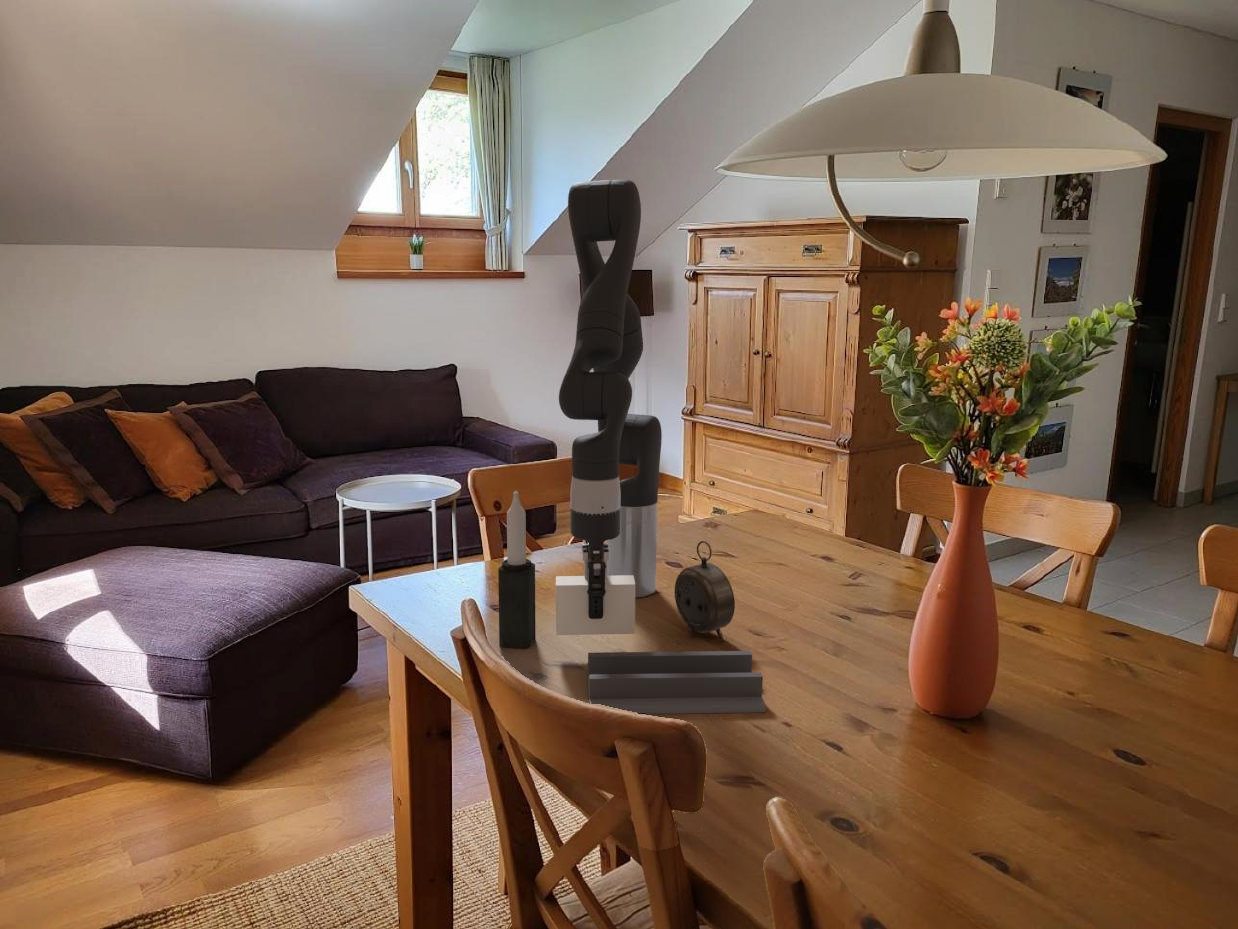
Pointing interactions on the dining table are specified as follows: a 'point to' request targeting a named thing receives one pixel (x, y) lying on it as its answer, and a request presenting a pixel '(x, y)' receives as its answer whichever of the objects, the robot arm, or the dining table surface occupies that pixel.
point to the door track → (675, 682)
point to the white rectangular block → (575, 606)
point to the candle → (516, 584)
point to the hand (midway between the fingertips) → (595, 611)
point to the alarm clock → (704, 597)
